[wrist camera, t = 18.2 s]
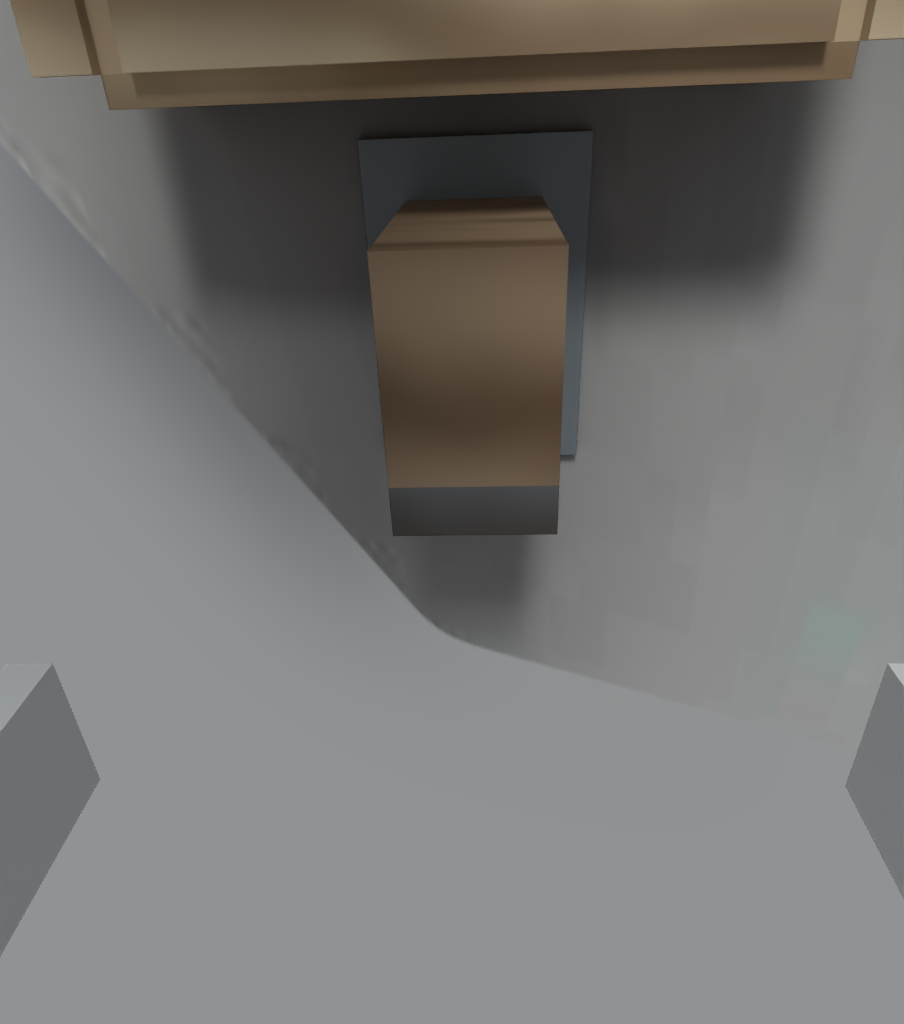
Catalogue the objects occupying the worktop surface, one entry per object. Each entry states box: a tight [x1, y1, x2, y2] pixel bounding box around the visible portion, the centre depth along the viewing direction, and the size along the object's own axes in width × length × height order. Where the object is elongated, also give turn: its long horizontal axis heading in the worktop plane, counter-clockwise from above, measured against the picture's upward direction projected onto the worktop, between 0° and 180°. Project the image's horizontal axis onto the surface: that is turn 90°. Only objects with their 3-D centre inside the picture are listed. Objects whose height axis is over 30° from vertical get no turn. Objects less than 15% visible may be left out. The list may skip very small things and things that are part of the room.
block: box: [367, 196, 569, 536], centre depth 29 cm, size 10×6×12 cm, turn 2°
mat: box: [358, 130, 594, 455], centre depth 35 cm, size 15×10×1 cm, turn 2°
